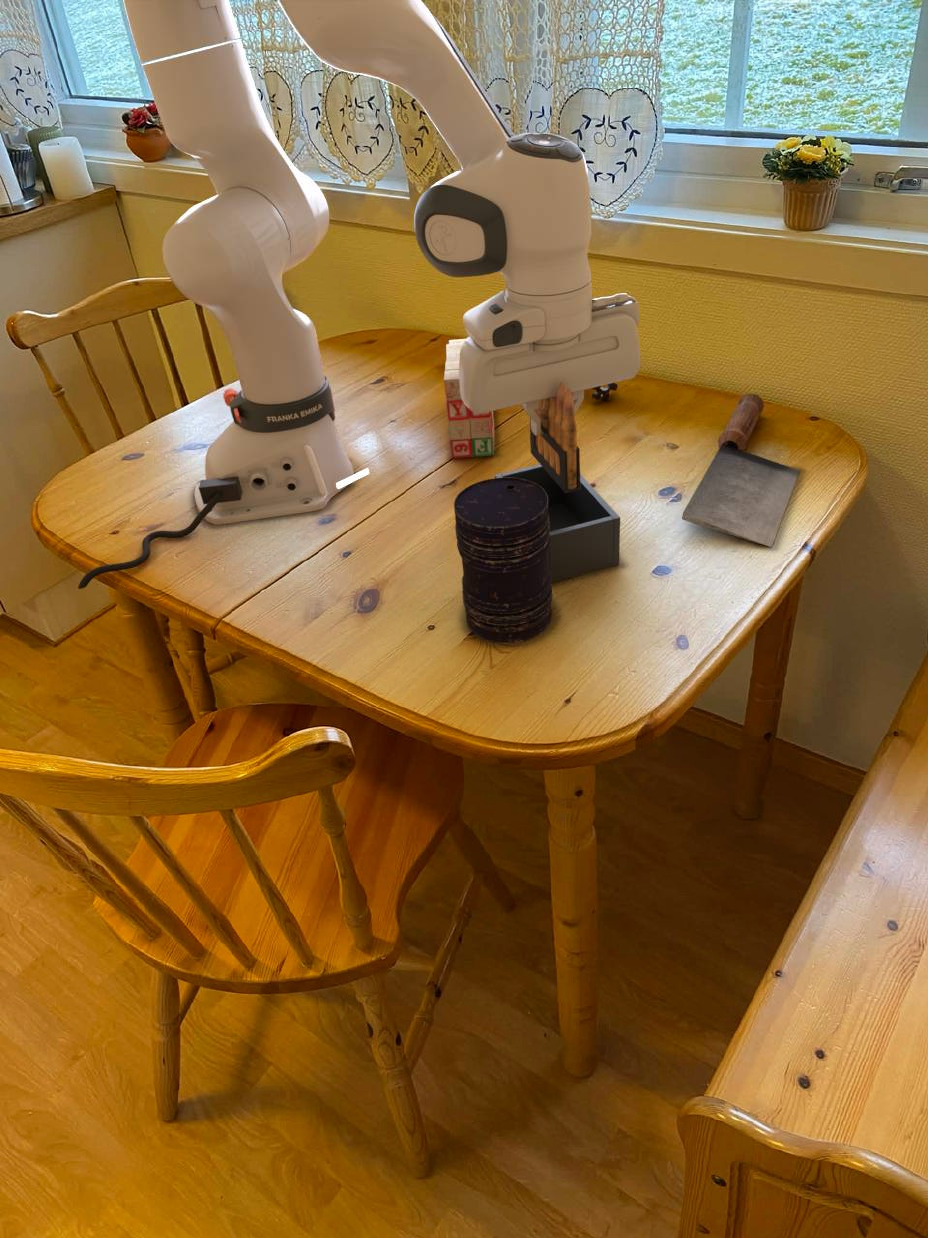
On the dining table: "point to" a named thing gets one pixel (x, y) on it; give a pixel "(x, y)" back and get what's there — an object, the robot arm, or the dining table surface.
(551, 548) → the bin
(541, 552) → the dark blue cylinder
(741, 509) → the meat cleaver
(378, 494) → the dining table surface
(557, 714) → the dining table surface
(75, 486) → the dining table surface
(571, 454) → the ammunition clip
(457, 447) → the stack of blocks
